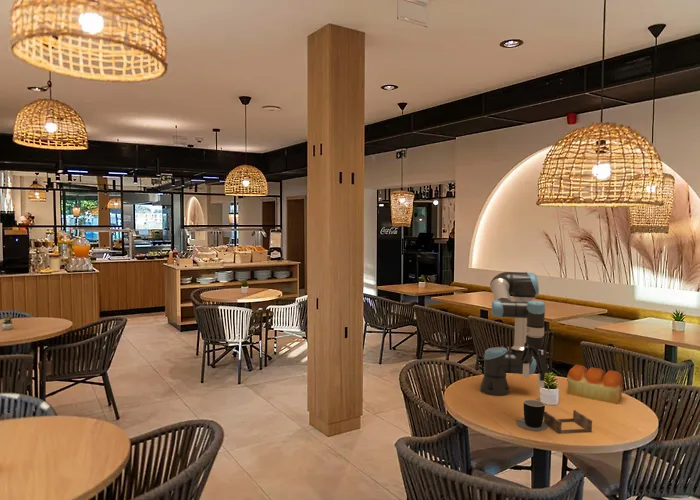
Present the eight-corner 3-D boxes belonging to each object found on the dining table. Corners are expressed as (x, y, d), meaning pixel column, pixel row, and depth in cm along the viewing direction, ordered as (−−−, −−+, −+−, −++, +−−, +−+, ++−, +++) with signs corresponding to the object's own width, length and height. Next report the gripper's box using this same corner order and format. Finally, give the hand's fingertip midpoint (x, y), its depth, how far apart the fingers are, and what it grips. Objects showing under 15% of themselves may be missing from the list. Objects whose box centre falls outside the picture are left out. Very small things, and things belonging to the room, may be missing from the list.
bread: (622, 398, 272) (623, 370, 272) (618, 404, 262) (619, 376, 261) (572, 388, 287) (573, 362, 286) (566, 394, 277) (567, 367, 276)
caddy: (543, 422, 238) (544, 411, 237) (575, 420, 240) (575, 410, 240) (558, 433, 225) (559, 422, 225) (591, 431, 228) (592, 420, 227)
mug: (547, 428, 229) (548, 406, 228) (528, 429, 228) (529, 406, 227) (535, 418, 240) (535, 396, 240) (516, 418, 239) (517, 397, 239)
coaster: (511, 420, 240) (511, 418, 240) (537, 418, 242) (537, 417, 242) (524, 431, 227) (525, 430, 227) (552, 430, 229) (552, 428, 229)
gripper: (514, 329, 244) (512, 373, 245) (541, 343, 219) (539, 392, 220) (529, 329, 245) (527, 373, 246) (557, 342, 220) (555, 391, 222)
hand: (533, 382), depth 233 cm, fingers open, 13 cm apart
